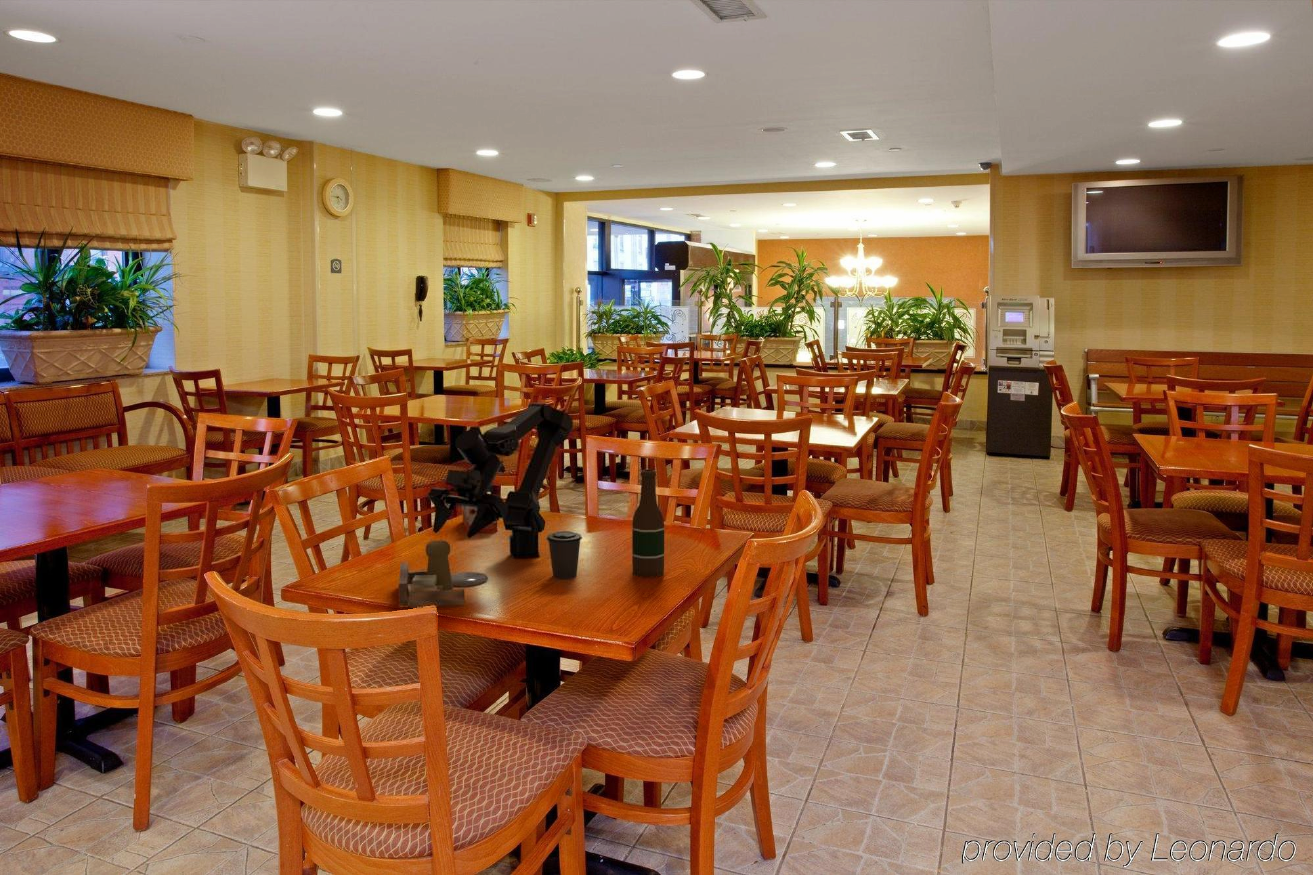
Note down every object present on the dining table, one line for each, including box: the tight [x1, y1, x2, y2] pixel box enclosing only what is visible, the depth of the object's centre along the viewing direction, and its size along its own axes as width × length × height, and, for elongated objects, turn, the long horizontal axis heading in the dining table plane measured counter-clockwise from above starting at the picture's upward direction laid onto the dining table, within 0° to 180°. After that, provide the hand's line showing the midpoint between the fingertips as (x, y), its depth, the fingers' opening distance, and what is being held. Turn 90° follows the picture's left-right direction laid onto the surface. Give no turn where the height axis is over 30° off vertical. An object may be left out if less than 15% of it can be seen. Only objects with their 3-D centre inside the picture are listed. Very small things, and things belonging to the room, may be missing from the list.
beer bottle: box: [631, 469, 665, 578], centre depth 219 cm, size 8×8×24 cm
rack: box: [398, 561, 466, 609], centre depth 204 cm, size 13×17×5 cm
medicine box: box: [461, 506, 498, 534], centre depth 264 cm, size 15×8×8 cm, turn 17°
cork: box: [425, 539, 454, 590], centre depth 206 cm, size 6×6×11 cm
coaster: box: [451, 571, 489, 588], centre depth 214 cm, size 10×10×1 cm
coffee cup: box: [546, 530, 583, 580], centre depth 217 cm, size 8×8×10 cm
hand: (451, 534), depth 209 cm, fingers open, 9 cm apart
